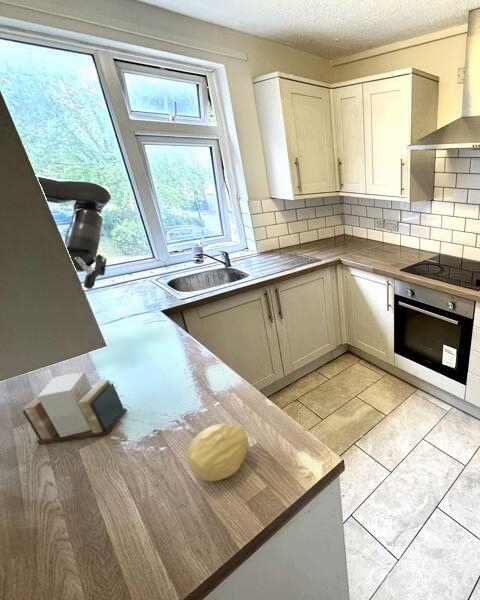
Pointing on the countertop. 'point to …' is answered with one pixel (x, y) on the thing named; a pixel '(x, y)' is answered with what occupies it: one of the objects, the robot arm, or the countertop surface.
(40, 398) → the small box
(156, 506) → the countertop surface
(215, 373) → the countertop surface
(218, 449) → the yellow lumpy ball
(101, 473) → the countertop surface
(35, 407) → the book rack
